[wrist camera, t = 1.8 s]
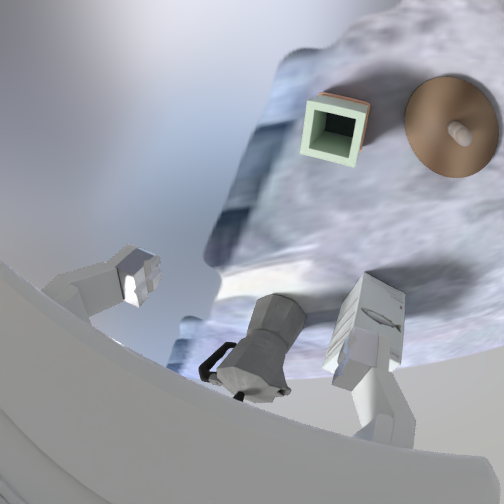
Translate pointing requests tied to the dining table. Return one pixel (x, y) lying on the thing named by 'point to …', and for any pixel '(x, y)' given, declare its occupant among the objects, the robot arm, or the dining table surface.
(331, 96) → the sleeve
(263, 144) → the dining table surface
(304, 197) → the dining table surface
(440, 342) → the dining table surface
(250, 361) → the coffeepot
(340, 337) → the supplement box
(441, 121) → the pin base
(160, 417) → the robot arm
